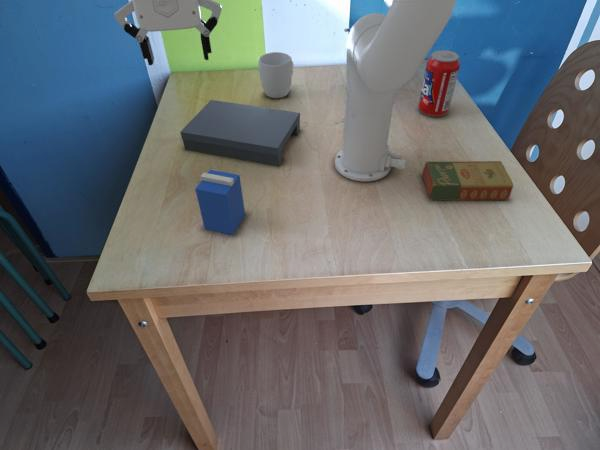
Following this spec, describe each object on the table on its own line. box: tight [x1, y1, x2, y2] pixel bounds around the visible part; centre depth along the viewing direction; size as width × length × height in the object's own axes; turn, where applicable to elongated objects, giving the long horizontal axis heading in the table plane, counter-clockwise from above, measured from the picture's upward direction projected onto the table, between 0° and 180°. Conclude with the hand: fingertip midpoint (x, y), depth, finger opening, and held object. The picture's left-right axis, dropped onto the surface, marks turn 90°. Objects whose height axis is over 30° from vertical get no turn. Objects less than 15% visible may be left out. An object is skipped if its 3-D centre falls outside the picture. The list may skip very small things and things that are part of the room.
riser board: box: [179, 99, 301, 167], centre depth 102 cm, size 24×16×5 cm, turn 72°
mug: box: [258, 51, 295, 99], centre depth 119 cm, size 13×9×10 cm
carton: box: [421, 160, 514, 201], centre depth 88 cm, size 8×16×4 cm, turn 89°
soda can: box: [418, 49, 461, 118], centre depth 107 cm, size 8×8×15 cm
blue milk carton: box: [194, 169, 246, 236], centre depth 79 cm, size 6×6×11 cm
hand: (179, 59), depth 75 cm, fingers open, 9 cm apart
